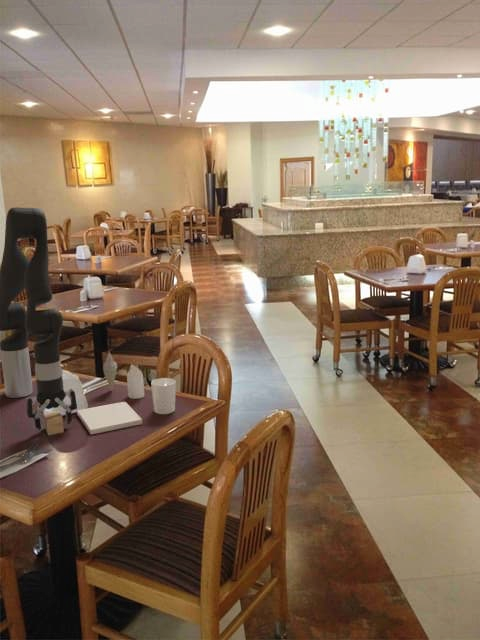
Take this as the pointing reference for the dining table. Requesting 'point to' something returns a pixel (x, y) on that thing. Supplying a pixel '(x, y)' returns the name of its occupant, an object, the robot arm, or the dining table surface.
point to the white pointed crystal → (135, 383)
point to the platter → (108, 417)
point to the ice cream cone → (110, 370)
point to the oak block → (53, 422)
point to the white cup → (163, 395)
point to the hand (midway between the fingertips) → (53, 426)
